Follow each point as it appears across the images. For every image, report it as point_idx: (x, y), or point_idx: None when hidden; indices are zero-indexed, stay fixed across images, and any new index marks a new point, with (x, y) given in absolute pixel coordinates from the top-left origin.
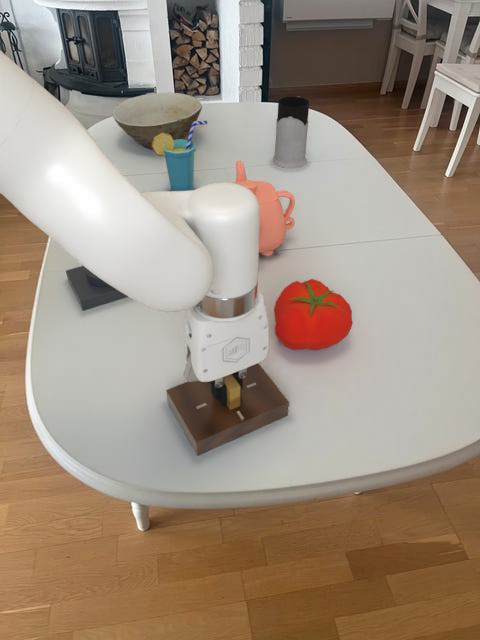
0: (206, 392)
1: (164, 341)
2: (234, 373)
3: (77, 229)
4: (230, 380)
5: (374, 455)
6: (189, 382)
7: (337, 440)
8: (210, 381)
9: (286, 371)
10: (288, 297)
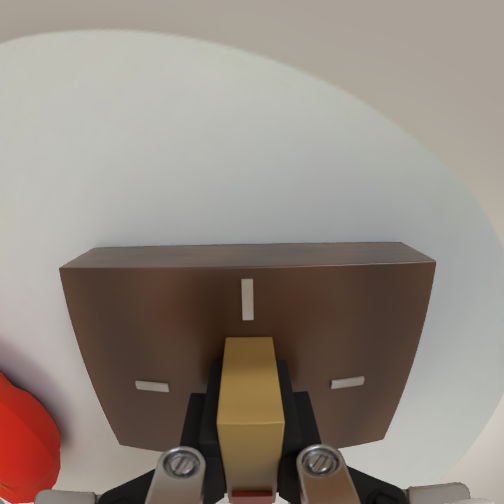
0: None
1: (282, 498)
2: (216, 479)
3: None
4: (247, 457)
5: (8, 65)
6: None
7: (32, 119)
8: (357, 480)
9: (61, 365)
10: (15, 493)
